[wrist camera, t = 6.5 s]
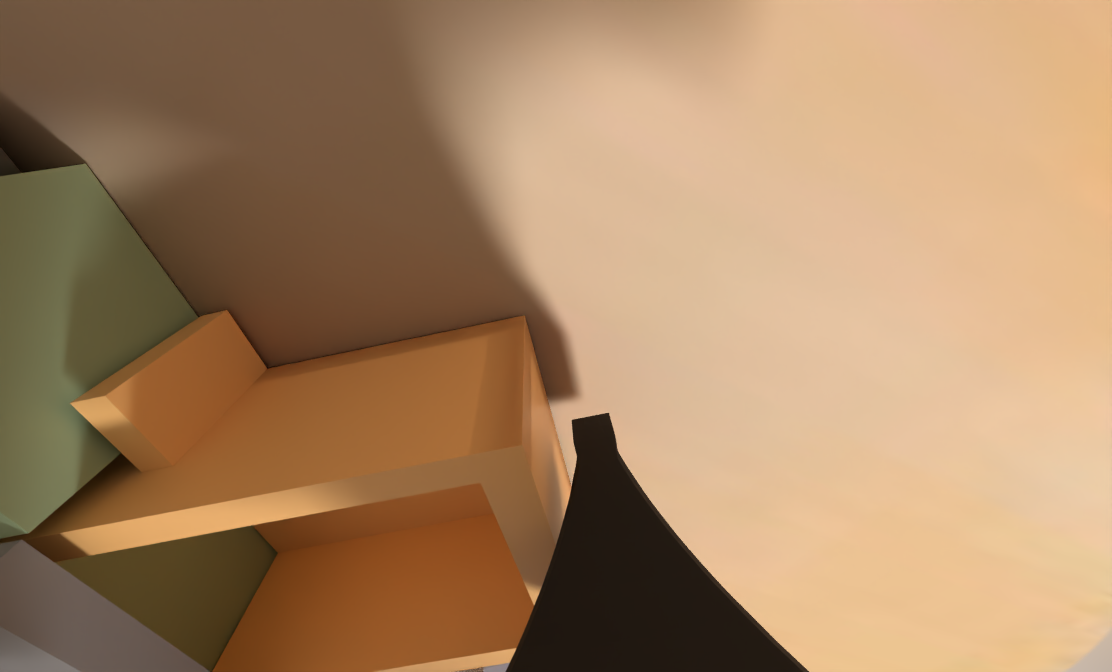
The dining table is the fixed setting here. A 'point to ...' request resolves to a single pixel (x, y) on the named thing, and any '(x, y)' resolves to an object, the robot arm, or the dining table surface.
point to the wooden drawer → (339, 490)
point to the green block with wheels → (92, 444)
